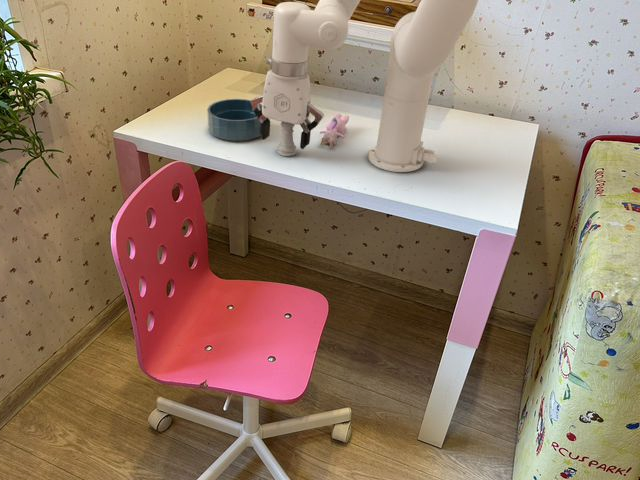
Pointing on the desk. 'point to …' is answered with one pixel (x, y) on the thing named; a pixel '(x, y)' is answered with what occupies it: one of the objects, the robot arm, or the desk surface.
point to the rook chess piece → (287, 140)
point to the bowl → (233, 120)
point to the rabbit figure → (334, 129)
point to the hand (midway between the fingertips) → (284, 142)
